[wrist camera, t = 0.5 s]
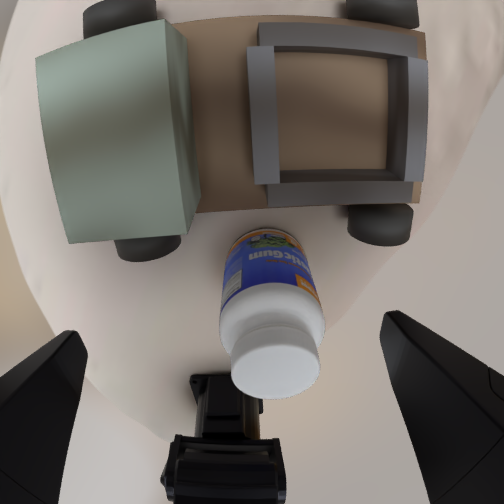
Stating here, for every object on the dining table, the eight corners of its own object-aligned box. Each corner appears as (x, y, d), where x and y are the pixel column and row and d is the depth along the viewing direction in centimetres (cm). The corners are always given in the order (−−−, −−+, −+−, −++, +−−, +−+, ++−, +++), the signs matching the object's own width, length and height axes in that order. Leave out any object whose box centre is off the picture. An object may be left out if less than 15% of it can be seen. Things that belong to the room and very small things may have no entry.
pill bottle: (318, 242, 21) (362, 347, 13) (284, 303, 23) (302, 414, 15) (242, 214, 20) (242, 315, 11) (214, 281, 22) (200, 395, 14)
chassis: (406, 217, 20) (454, 264, 14) (116, 234, 20) (76, 289, 15) (411, 13, 13) (472, -5, 8) (86, 28, 14) (26, 12, 8)
